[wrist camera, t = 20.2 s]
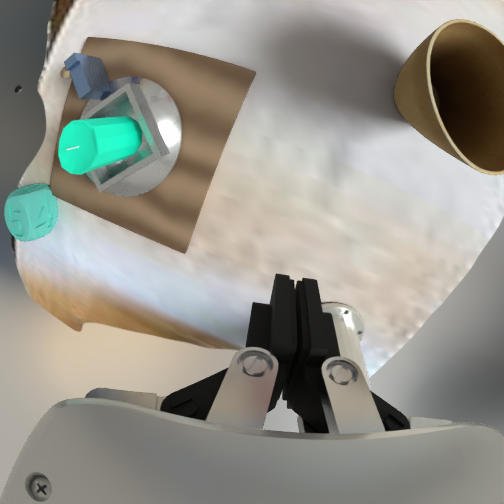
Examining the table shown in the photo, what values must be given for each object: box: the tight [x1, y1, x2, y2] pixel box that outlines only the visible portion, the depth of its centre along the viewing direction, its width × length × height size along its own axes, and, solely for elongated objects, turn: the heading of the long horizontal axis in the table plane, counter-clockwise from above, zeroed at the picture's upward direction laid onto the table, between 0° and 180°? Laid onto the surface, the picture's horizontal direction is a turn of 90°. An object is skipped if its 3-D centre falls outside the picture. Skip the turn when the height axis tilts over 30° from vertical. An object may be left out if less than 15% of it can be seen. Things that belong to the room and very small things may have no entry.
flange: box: [64, 53, 183, 197], centre depth 30 cm, size 22×17×6 cm
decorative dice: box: [4, 184, 58, 241], centre depth 37 cm, size 8×8×8 cm
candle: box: [58, 116, 143, 175], centre depth 27 cm, size 6×6×12 cm
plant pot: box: [394, 19, 504, 175], centre depth 21 cm, size 15×15×16 cm
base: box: [50, 37, 256, 254], centre depth 32 cm, size 27×27×7 cm
